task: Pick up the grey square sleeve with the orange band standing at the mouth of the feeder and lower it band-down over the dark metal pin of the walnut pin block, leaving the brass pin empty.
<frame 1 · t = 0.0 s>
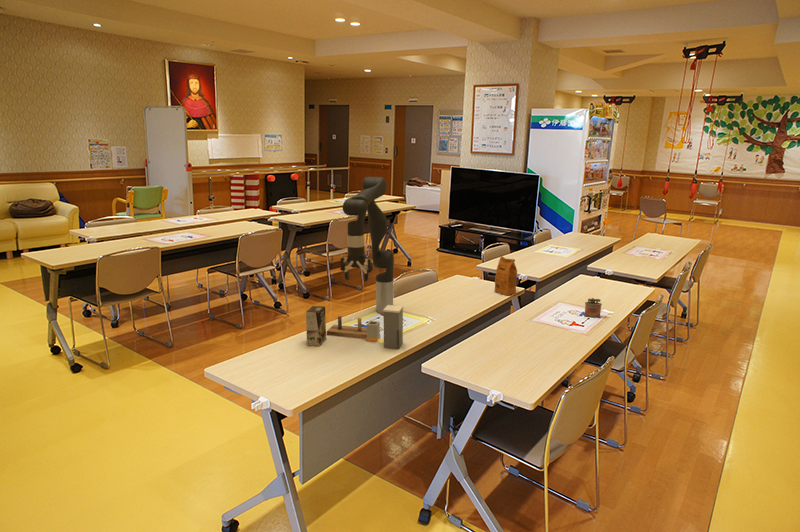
hand: (356, 280, 232), 29 cm above the table, fingers open, 8 cm apart
coffee box: (316, 342, 239), on the table
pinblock: (349, 333, 249), on the table
coffee package: (504, 293, 314), on the table
sleeve: (373, 339, 242), on the table
feeder: (393, 345, 235), on the table
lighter: (592, 317, 273), on the table
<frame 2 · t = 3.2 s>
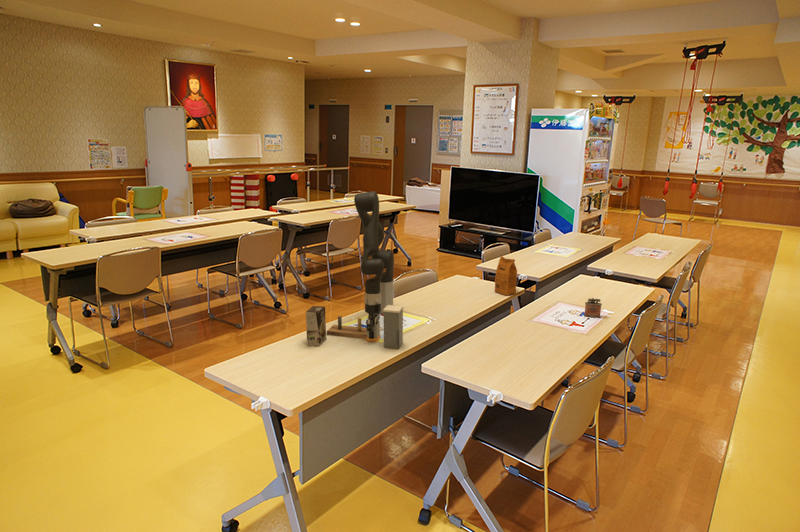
hand: (373, 336, 242), 1 cm above the table, fingers closed on sleeve, 5 cm apart
sleeve: (373, 339, 242), on the table, touching gripper
everything else where it was.
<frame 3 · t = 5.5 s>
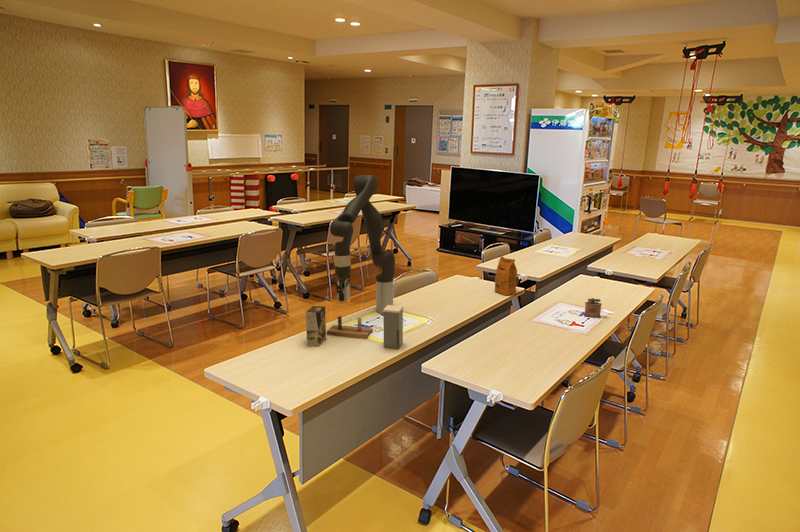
hand: (343, 298, 245), 17 cm above the table, fingers closed on sleeve, 5 cm apart
sleeve: (343, 301, 245), point 16 cm above the table, touching gripper
everything else where it was.
when the fingers open (4 cm above the table, at t = 8.2 s): sleeve stays where it is, resting on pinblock.
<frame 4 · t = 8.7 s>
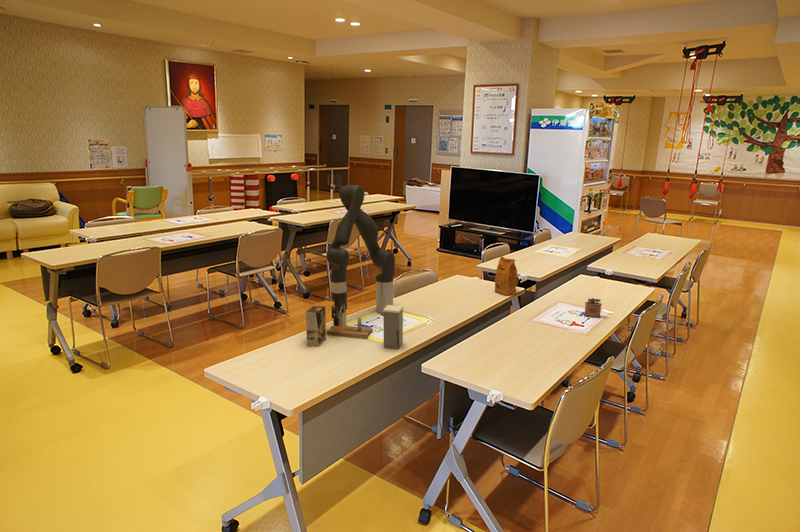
hand: (339, 322, 249), 5 cm above the table, fingers open, 8 cm apart
sleeve: (340, 328, 250), point 2 cm above the table, touching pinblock
everything else where it was.
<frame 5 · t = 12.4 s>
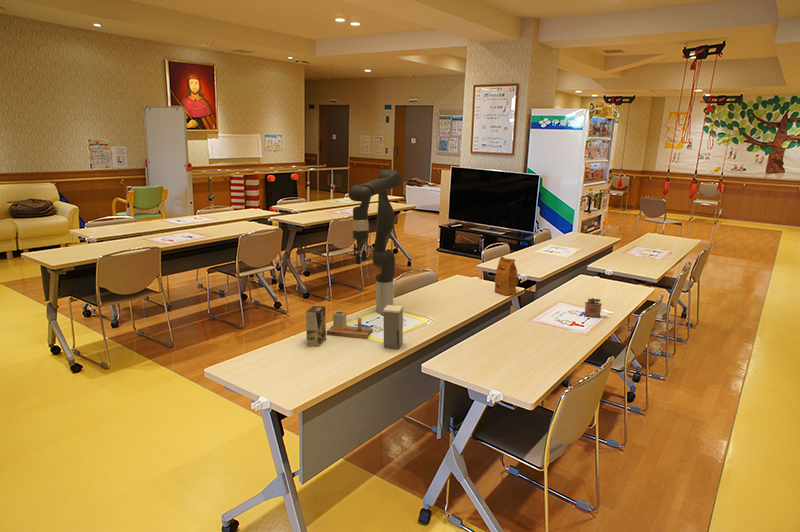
hand: (361, 262, 250), 33 cm above the table, fingers open, 8 cm apart
nothing on the table moved.
at the end: sleeve 0.2 cm from the target spot on the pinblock, point 2.0 cm above the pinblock's base; sleeve tilted 0°; the gripper is holding nothing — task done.
